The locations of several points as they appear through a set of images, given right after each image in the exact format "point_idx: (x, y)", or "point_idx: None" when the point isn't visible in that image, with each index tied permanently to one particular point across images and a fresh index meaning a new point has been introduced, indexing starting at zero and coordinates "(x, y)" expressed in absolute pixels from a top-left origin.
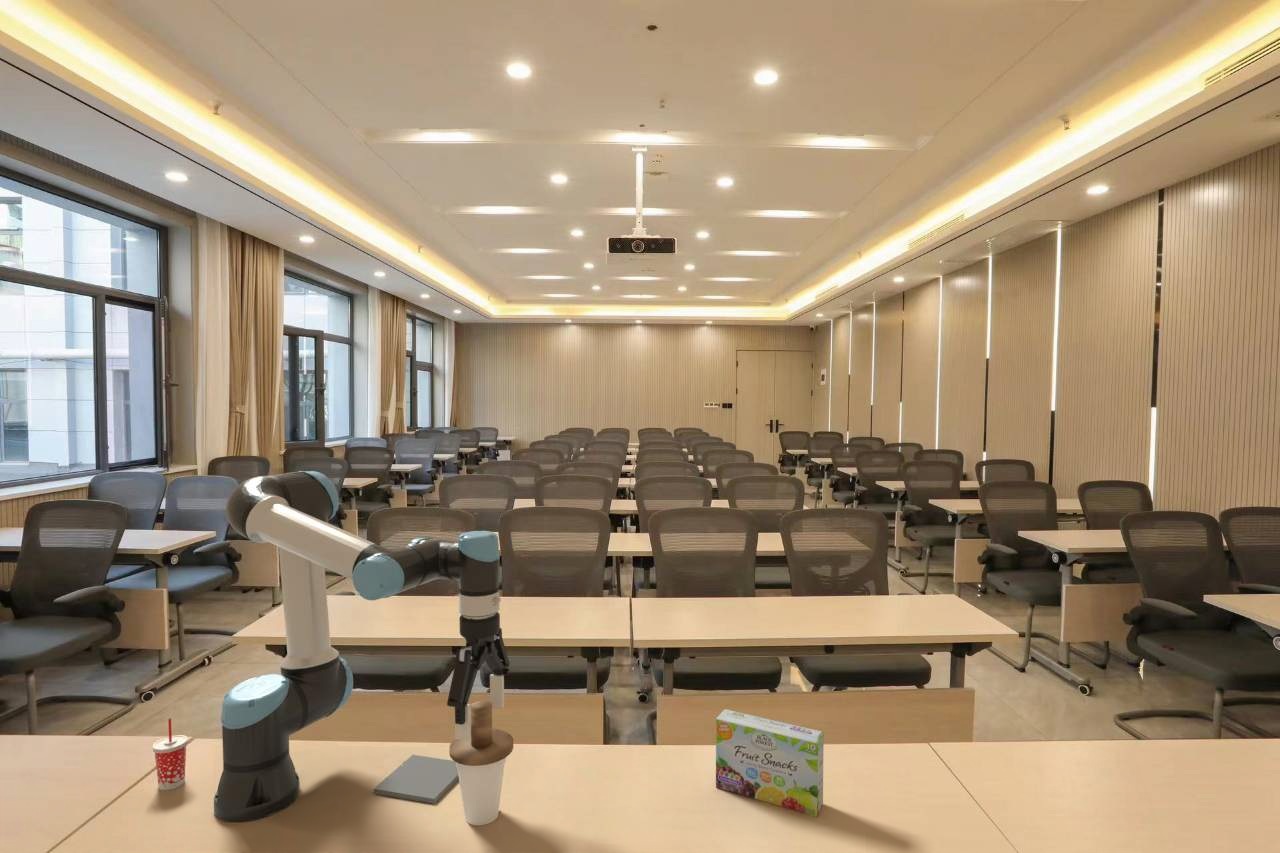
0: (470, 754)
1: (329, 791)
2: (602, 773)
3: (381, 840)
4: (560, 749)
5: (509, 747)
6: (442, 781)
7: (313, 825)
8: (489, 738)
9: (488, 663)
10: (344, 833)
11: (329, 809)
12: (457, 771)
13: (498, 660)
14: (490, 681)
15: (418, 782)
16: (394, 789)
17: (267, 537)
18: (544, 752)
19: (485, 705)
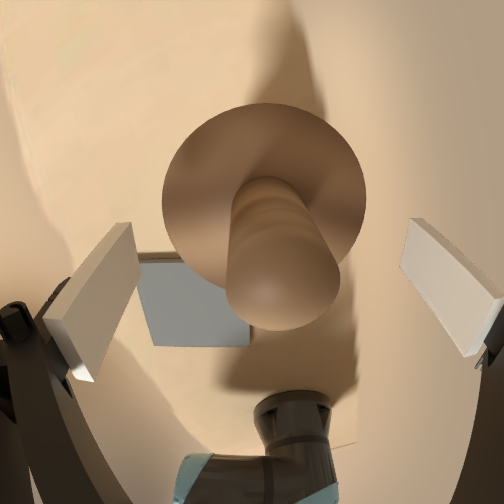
0: (339, 210)
1: (260, 378)
2: (69, 31)
3: (348, 275)
4: (28, 143)
5: (269, 105)
6: (197, 275)
7: (327, 355)
8: (279, 184)
9: (107, 468)
10: (338, 321)
11: (294, 360)
12: (161, 268)
13: (45, 454)
14: (104, 352)
15: (214, 305)
16: (243, 324)
17: None
18: (44, 164)
19: (282, 267)
